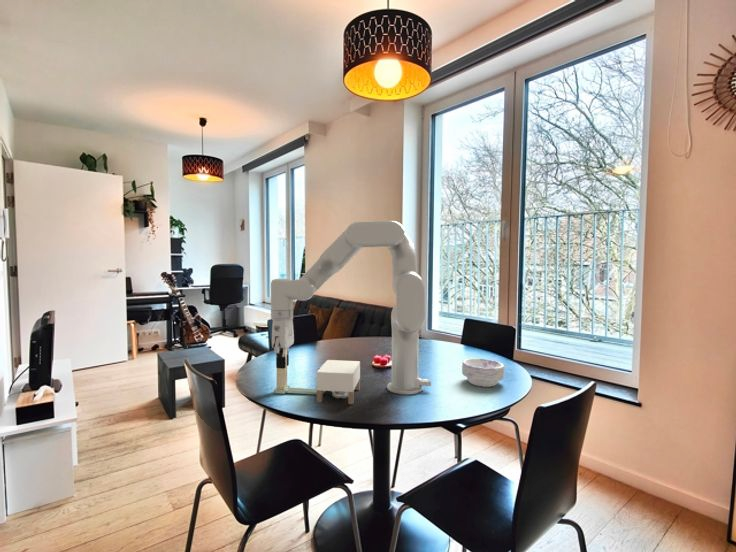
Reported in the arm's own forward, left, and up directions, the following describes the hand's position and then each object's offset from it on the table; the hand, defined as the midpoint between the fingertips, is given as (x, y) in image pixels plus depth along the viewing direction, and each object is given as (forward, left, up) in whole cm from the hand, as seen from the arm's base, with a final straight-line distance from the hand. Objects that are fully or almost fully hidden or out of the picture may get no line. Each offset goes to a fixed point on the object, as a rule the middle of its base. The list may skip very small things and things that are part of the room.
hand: (282, 366), depth 135 cm
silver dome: (-21, 0, -9) cm, 23 cm away
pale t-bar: (-6, 0, -9) cm, 11 cm away
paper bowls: (-71, -20, -9) cm, 75 cm away
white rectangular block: (-20, 0, -9) cm, 22 cm away
